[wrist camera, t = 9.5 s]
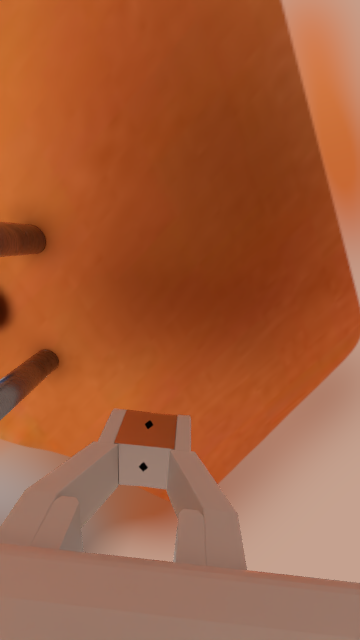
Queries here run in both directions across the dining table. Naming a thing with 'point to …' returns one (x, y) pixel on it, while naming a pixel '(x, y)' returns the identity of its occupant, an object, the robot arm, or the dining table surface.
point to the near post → (20, 239)
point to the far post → (25, 379)
